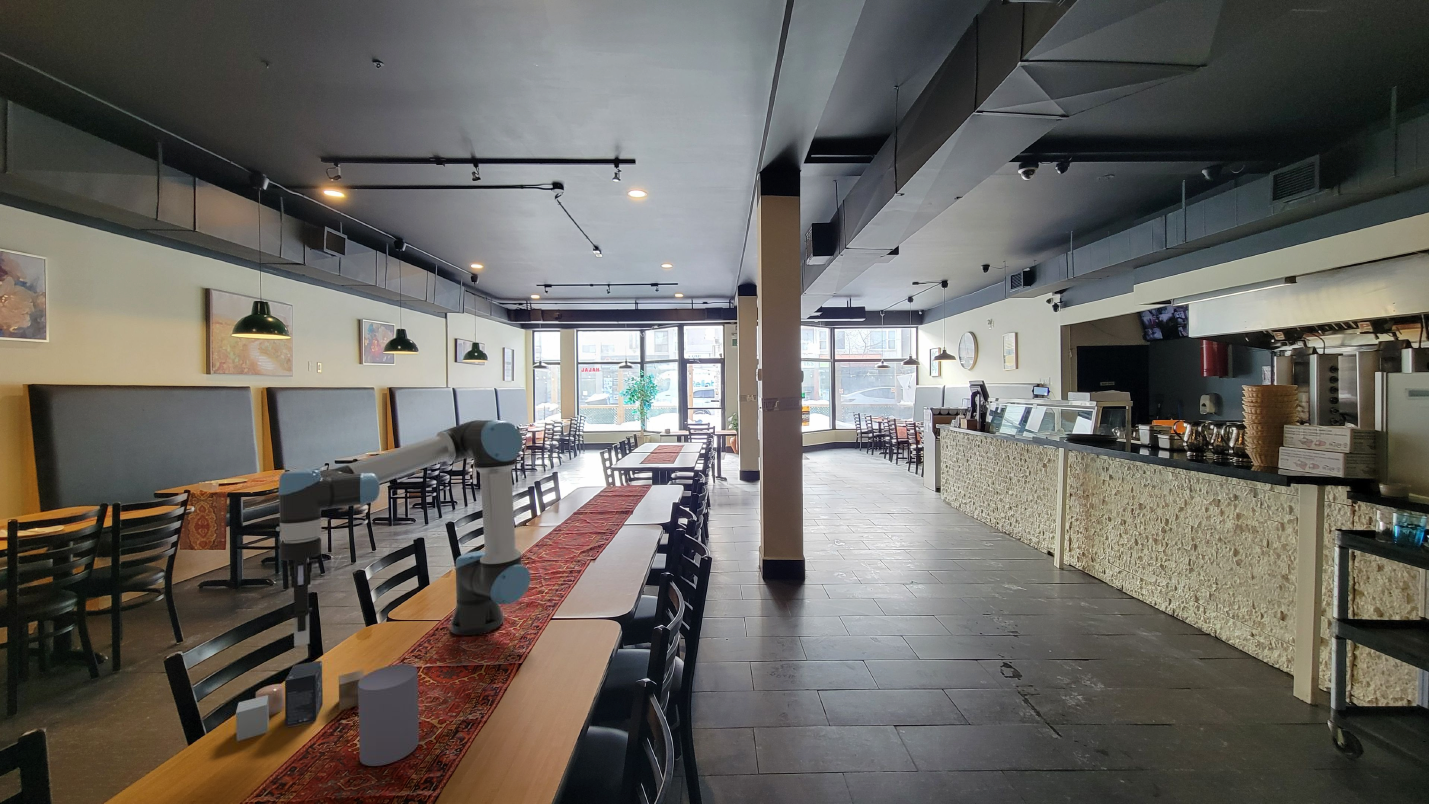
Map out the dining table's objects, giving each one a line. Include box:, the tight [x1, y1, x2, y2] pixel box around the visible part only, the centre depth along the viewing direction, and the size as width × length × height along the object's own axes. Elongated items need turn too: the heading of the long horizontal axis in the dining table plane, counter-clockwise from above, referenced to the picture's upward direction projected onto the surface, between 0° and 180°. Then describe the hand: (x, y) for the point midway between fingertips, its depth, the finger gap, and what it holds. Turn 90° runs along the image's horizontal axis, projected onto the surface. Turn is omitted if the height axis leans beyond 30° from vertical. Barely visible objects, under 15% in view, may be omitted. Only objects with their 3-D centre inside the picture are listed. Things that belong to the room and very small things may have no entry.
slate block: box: [235, 695, 270, 742], centre depth 119 cm, size 5×5×6 cm
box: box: [284, 660, 324, 728], centre depth 124 cm, size 8×6×11 cm
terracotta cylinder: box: [255, 683, 285, 717], centre depth 126 cm, size 5×5×5 cm
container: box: [358, 663, 420, 767], centre depth 111 cm, size 10×10×15 cm
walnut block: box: [338, 669, 365, 711], centre depth 130 cm, size 5×5×6 cm
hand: (301, 643), depth 124 cm, fingers closed
